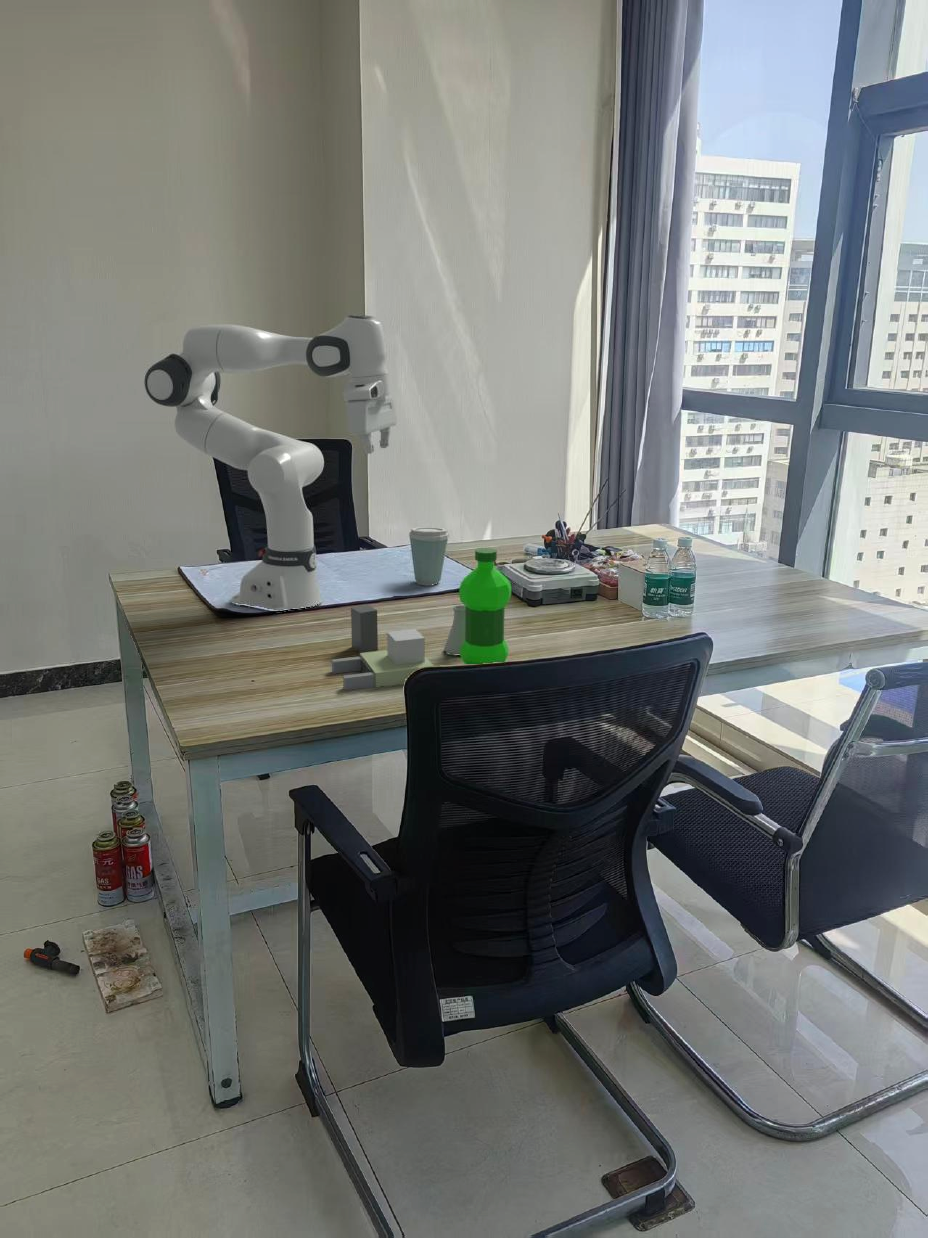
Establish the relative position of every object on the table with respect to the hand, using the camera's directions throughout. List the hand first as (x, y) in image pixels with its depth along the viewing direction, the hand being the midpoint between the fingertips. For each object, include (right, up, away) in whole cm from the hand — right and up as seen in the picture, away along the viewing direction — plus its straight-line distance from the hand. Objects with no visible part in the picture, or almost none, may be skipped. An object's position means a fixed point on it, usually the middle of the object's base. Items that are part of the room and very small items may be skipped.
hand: (377, 450), depth 226 cm
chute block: (-1, -45, -14) cm, 47 cm away
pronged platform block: (+5, -50, -28) cm, 58 cm away
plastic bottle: (+24, -49, -25) cm, 60 cm away
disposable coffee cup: (+11, -29, +37) cm, 48 cm away
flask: (+19, -46, -15) cm, 52 cm away
